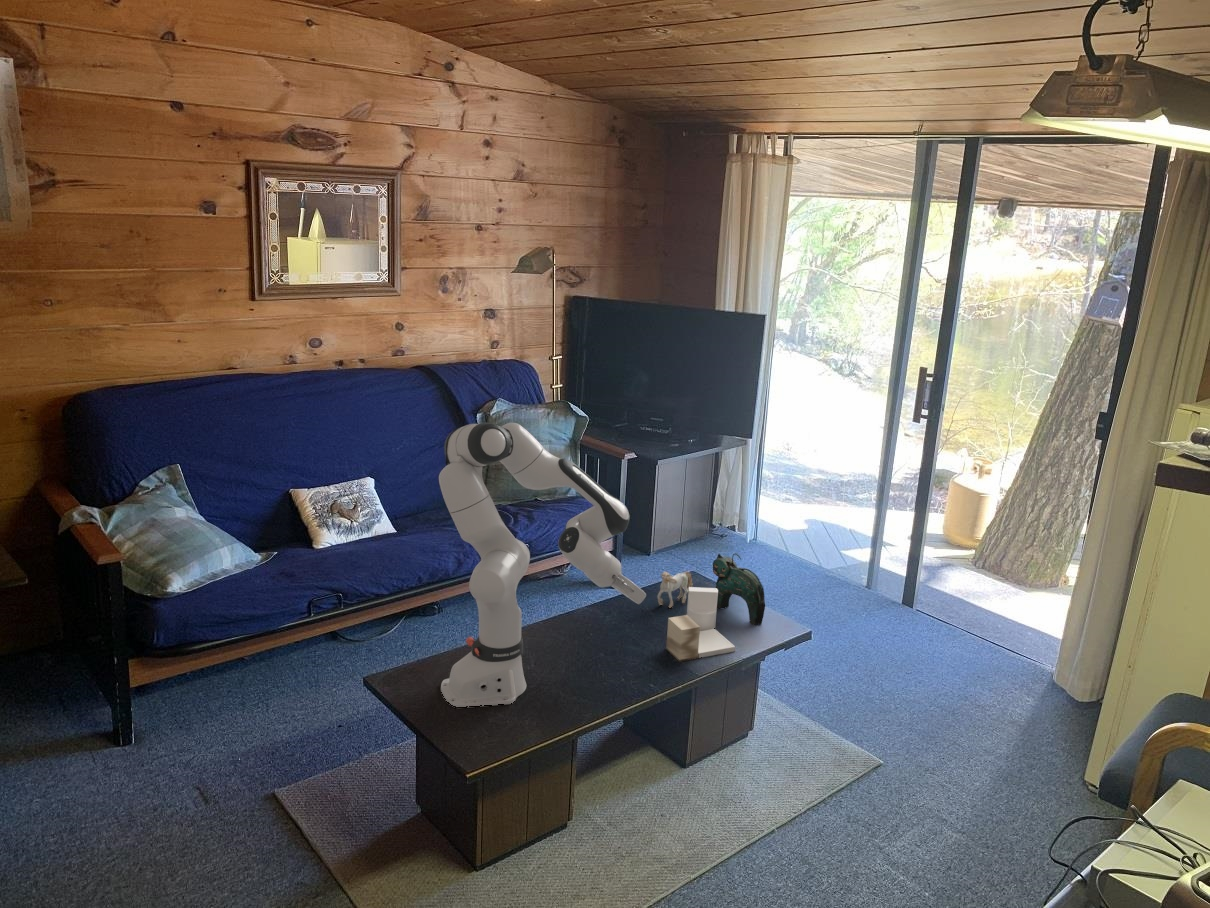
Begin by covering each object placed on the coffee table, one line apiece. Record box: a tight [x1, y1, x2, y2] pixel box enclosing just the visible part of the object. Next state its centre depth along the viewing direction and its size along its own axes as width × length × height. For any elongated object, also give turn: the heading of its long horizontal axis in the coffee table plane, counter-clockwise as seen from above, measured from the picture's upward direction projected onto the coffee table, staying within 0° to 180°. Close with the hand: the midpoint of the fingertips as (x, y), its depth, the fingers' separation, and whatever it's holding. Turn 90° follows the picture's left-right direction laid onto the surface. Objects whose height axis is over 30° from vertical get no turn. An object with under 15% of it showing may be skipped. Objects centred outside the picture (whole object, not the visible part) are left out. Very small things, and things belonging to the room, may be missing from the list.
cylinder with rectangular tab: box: [686, 586, 718, 631], centre depth 293 cm, size 9×9×12 cm
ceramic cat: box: [712, 553, 766, 626], centre depth 301 cm, size 20×6×20 cm, turn 40°
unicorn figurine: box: [656, 571, 694, 608], centre depth 305 cm, size 7×20×13 cm, turn 150°
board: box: [697, 628, 736, 659], centre depth 282 cm, size 12×12×2 cm
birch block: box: [665, 614, 700, 662], centre depth 276 cm, size 6×8×10 cm
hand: (635, 596), depth 265 cm, fingers closed
